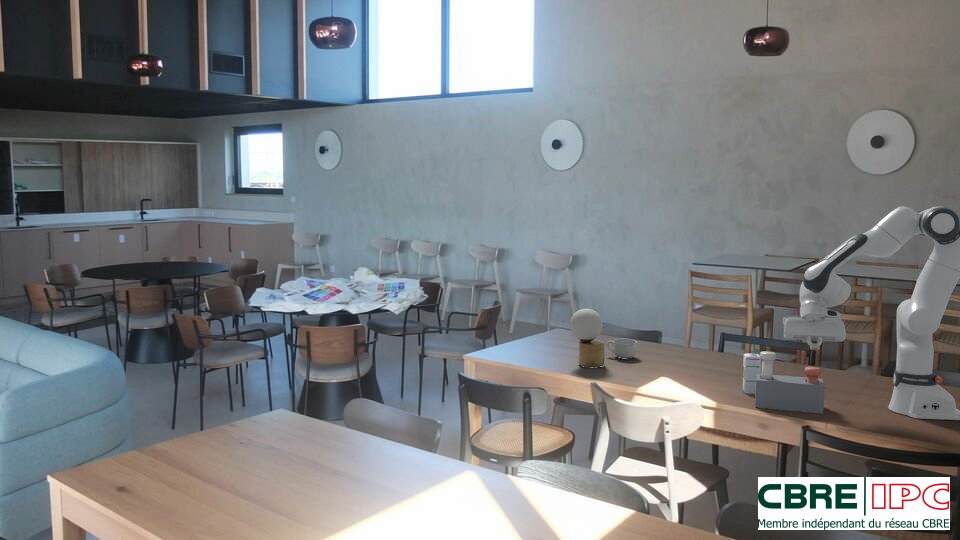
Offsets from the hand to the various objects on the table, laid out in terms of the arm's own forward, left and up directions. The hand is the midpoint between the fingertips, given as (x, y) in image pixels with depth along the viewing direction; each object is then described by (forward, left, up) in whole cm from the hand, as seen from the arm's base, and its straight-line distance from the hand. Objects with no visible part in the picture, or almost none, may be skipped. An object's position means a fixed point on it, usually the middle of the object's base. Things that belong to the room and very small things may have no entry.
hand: (814, 349), depth 265 cm
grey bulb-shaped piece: (+15, -1, -17) cm, 23 cm away
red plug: (0, -1, -21) cm, 21 cm away
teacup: (+76, -59, -22) cm, 99 cm away
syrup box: (+20, -17, -22) cm, 34 cm away
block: (+8, -1, -22) cm, 23 cm away
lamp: (+88, -39, -22) cm, 99 cm away
